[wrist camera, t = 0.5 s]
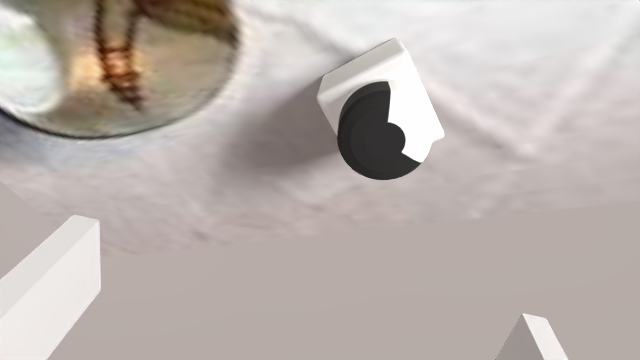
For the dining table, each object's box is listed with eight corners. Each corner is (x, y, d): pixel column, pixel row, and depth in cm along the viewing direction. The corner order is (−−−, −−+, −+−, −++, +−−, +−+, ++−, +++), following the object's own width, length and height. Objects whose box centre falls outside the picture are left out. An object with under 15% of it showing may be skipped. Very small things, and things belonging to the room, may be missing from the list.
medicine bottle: (357, 145, 40) (359, 208, 29) (321, 75, 37) (307, 117, 27) (431, 110, 38) (461, 164, 27) (397, 35, 36) (416, 61, 25)
